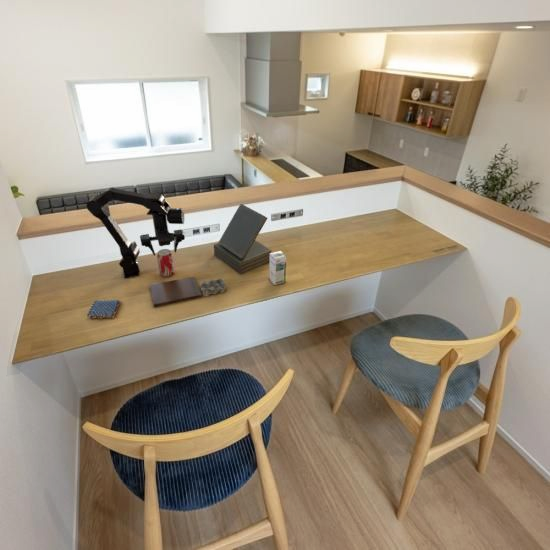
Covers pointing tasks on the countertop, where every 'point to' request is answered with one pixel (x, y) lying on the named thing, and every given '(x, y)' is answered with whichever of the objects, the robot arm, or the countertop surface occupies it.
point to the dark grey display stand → (243, 241)
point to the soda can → (165, 262)
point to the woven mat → (104, 309)
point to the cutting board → (174, 291)
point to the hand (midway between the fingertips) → (165, 253)
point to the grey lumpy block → (212, 286)
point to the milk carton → (277, 267)
